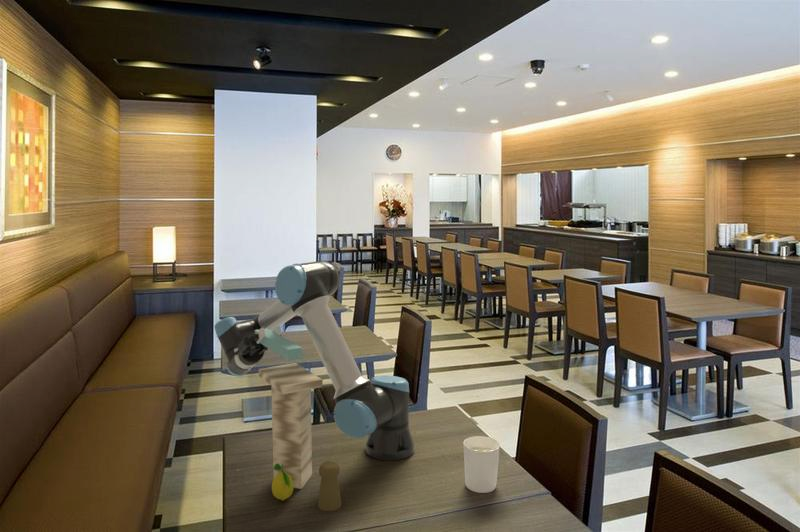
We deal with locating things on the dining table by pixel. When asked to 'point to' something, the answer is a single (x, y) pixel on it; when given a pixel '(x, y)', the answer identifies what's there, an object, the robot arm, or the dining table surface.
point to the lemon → (282, 484)
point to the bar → (281, 345)
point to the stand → (292, 419)
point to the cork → (329, 487)
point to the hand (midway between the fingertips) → (271, 331)
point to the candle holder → (481, 463)
